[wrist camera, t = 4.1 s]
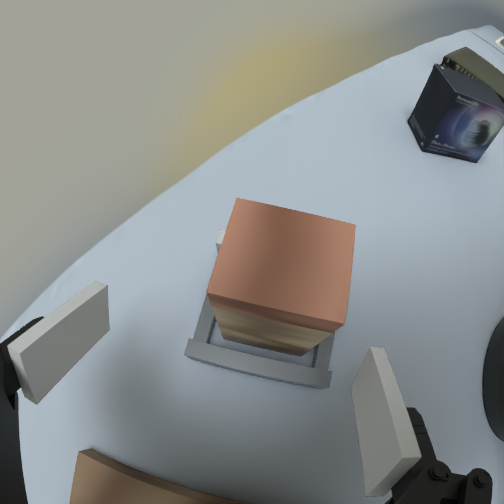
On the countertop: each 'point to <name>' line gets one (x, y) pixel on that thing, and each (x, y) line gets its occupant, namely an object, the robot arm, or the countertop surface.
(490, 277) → the countertop surface
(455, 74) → the small box
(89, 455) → the walnut board
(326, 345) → the frame
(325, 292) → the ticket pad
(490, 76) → the network switch
